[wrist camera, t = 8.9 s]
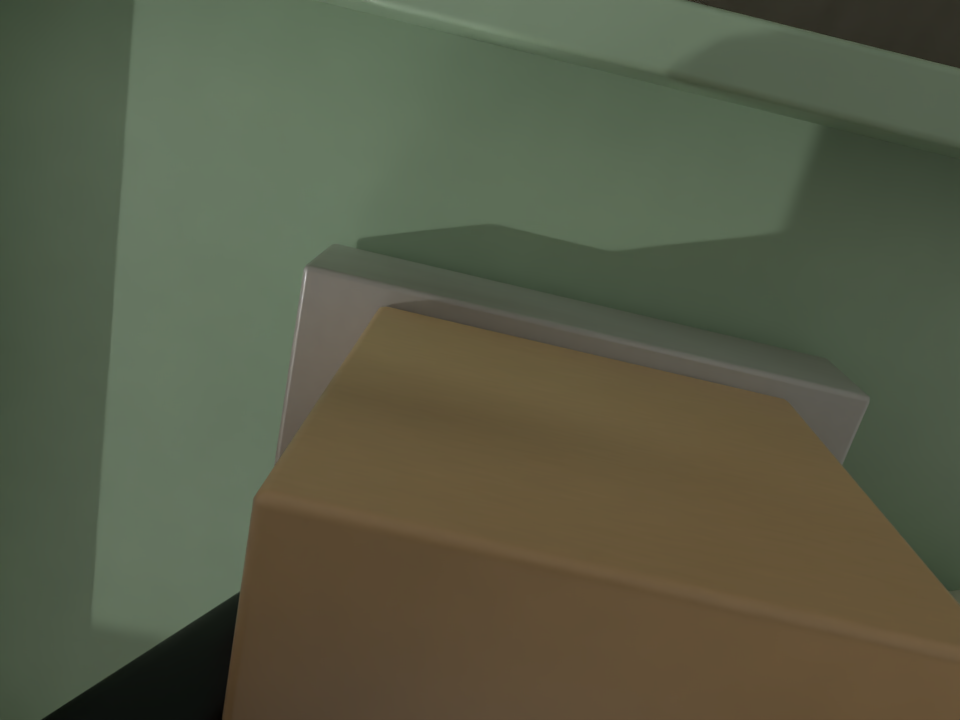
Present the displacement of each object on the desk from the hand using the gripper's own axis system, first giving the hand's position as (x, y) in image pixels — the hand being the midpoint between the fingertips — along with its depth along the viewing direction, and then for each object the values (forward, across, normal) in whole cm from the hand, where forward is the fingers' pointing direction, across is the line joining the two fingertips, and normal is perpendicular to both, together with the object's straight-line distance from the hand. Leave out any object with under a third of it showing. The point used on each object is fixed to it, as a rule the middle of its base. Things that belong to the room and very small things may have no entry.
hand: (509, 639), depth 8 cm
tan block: (+2, 0, 0) cm, 2 cm away
